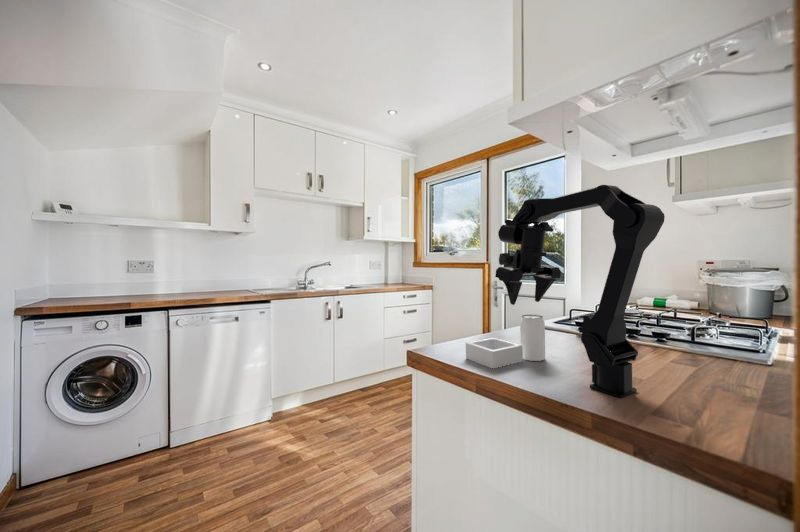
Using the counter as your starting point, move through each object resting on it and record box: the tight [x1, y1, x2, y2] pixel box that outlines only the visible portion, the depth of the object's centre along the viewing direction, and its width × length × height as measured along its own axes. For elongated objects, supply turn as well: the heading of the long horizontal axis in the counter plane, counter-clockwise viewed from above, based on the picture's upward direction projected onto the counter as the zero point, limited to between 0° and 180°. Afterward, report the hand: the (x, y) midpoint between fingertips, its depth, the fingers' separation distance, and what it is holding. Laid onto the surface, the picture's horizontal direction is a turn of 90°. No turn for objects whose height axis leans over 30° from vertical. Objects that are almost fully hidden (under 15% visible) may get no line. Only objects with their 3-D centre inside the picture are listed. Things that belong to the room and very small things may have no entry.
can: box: [519, 314, 546, 362], centre depth 94 cm, size 6×6×12 cm
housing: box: [465, 337, 524, 370], centre depth 94 cm, size 11×11×4 cm
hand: (524, 303), depth 92 cm, fingers open, 9 cm apart
